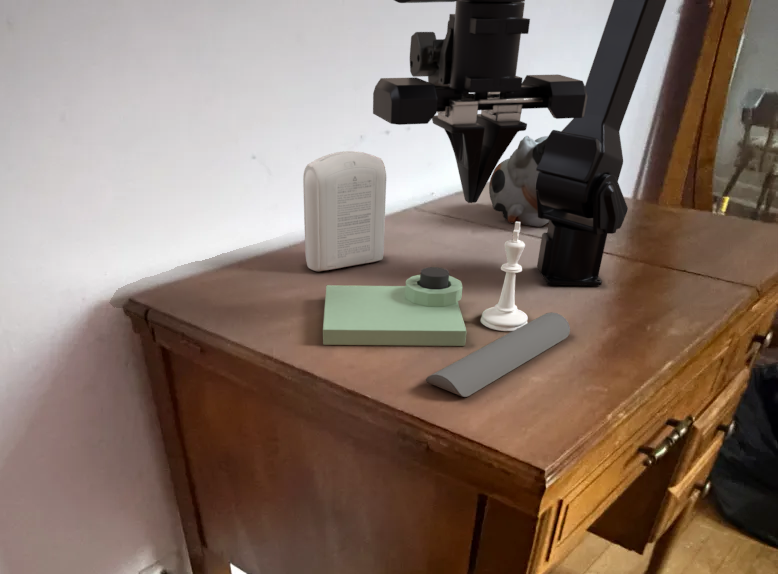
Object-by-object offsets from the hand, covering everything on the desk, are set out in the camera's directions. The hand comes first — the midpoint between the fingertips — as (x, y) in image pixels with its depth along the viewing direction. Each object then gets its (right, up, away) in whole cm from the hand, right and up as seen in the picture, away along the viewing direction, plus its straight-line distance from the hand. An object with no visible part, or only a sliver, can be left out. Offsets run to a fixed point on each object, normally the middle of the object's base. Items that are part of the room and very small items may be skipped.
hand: (470, 201), depth 70 cm
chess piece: (+4, -10, +6) cm, 13 cm away
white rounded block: (-13, +1, +19) cm, 23 cm away
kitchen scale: (-8, -10, +6) cm, 14 cm away
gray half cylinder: (+3, -16, -1) cm, 16 cm away
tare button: (-3, -6, +6) cm, 9 cm away
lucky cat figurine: (+16, +15, +37) cm, 42 cm away
